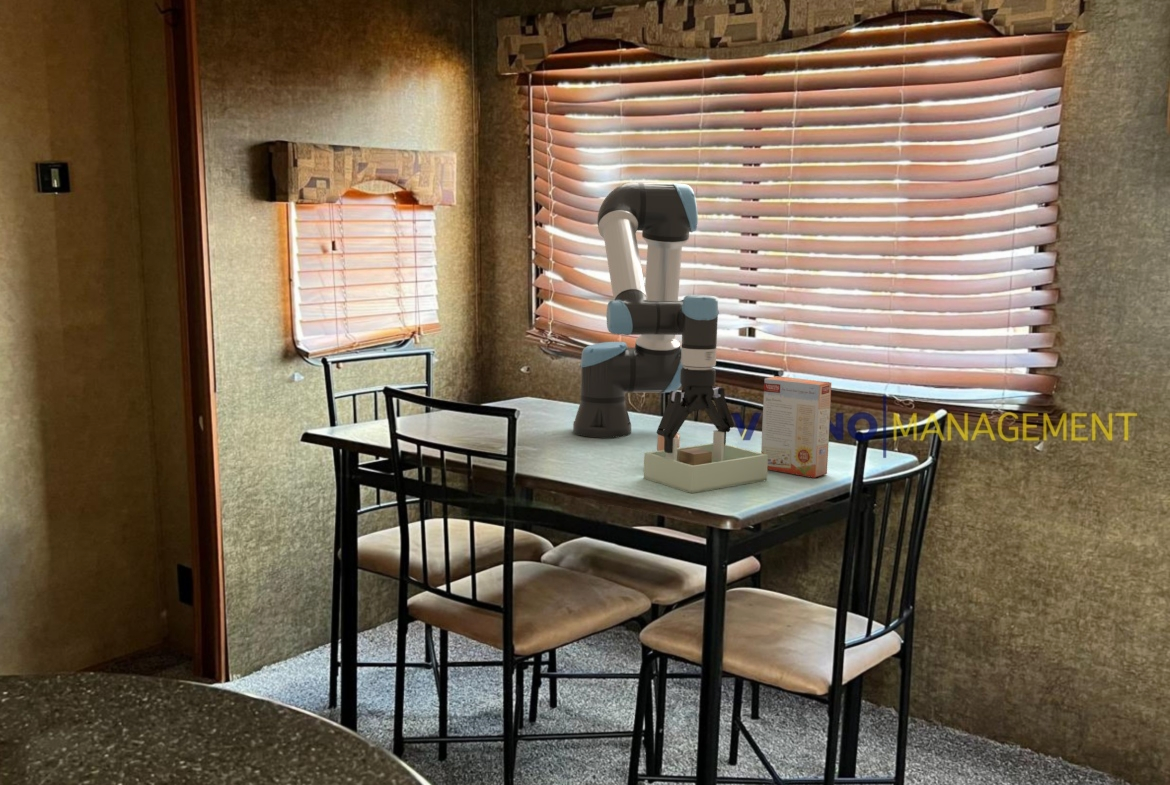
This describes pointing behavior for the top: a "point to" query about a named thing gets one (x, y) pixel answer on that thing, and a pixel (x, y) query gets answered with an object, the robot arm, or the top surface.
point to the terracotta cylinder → (661, 442)
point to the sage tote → (706, 469)
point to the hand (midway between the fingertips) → (694, 463)
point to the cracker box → (796, 425)
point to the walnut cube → (695, 456)
